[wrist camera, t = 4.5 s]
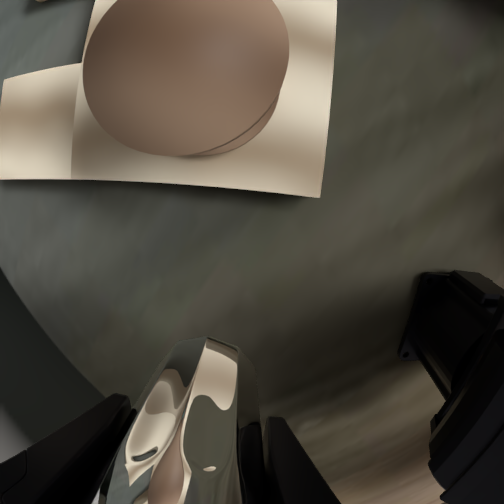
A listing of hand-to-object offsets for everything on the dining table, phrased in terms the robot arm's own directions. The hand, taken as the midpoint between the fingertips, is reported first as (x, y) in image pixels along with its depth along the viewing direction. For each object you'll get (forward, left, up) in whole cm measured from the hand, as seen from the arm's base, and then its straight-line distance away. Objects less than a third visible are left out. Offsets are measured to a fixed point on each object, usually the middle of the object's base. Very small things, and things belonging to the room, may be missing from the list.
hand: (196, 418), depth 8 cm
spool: (+10, +2, -10) cm, 14 cm away
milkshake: (0, 0, -3) cm, 3 cm away
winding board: (+13, +6, -12) cm, 18 cm away
